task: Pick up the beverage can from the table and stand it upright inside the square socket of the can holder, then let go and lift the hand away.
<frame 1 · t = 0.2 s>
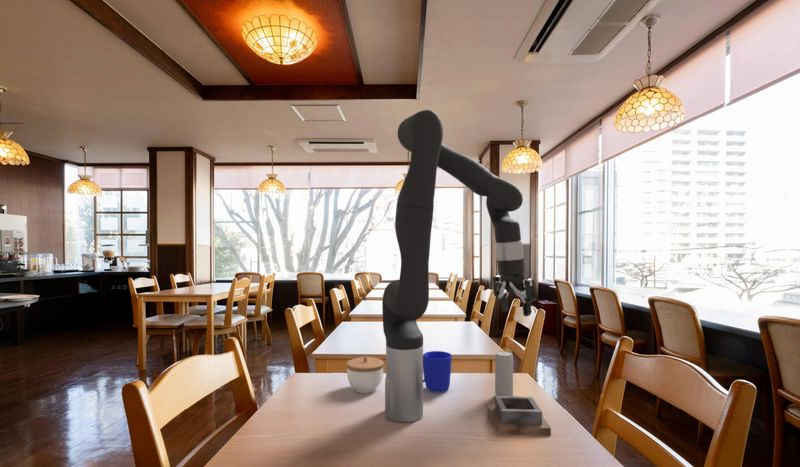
hand: (516, 313, 120), 22 cm above the table, tool pointing down, fingers open, 8 cm apart
lidded jar: (365, 389, 122), on the table
can holder: (517, 422, 100), on the table
beverage can: (504, 397, 116), on the table
mug: (430, 389, 122), on the table
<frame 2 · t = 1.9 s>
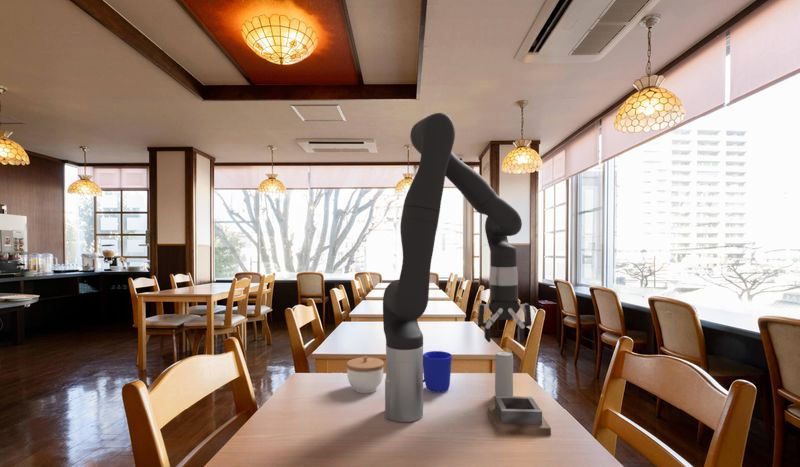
hand: (504, 341, 116), 15 cm above the table, tool pointing down, fingers open, 8 cm apart
nothing on the table moved.
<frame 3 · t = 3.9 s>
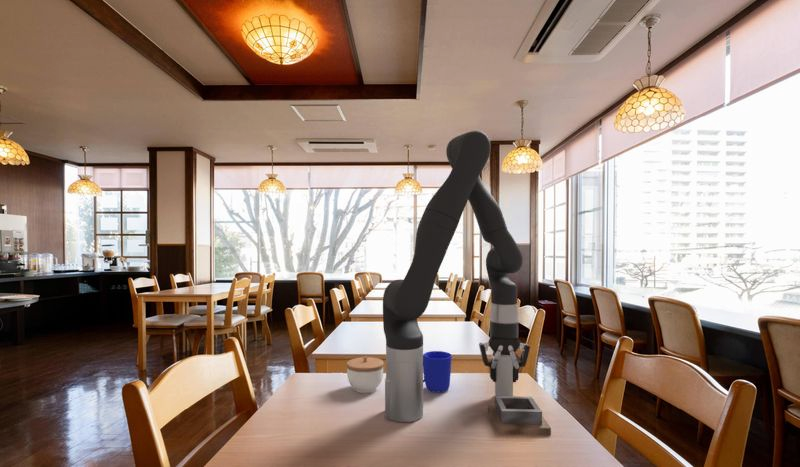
hand: (504, 380, 116), 4 cm above the table, tool pointing down, fingers closed on beverage can, 5 cm apart
beverage can: (504, 397, 116), on the table, touching gripper
everything else where it was.
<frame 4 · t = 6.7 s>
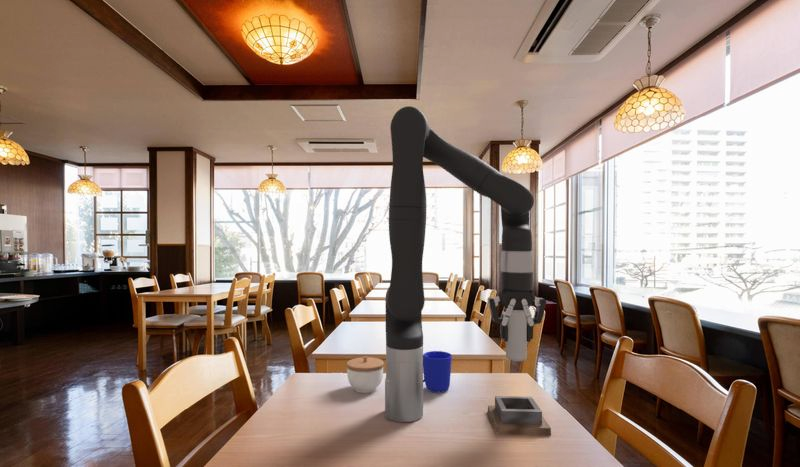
hand: (516, 340, 101), 19 cm above the table, tool pointing down, fingers closed on beverage can, 5 cm apart
beverage can: (516, 359, 101), point 15 cm above the table, touching gripper
everything else where it was.
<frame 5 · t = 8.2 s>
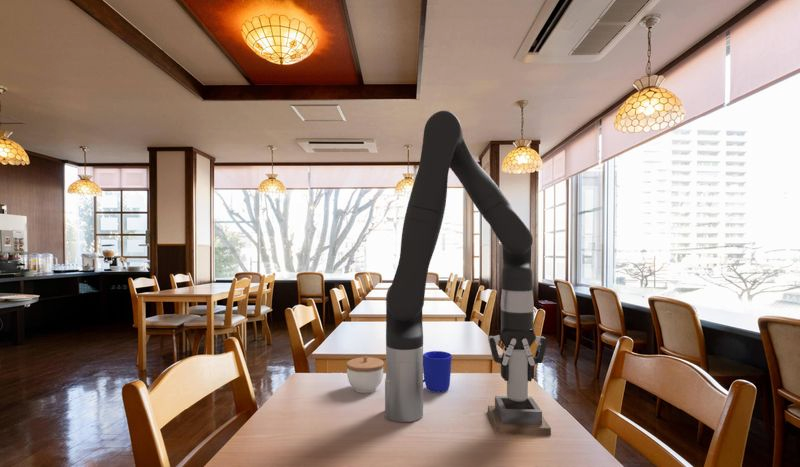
hand: (517, 379, 100), 10 cm above the table, tool pointing down, fingers closed on beverage can, 5 cm apart
beverage can: (517, 399, 100), point 6 cm above the table, touching gripper
everything else where it was.
when the fingers open (7 cm above the table, at t = 9.6 s): beverage can stays where it is, resting on can holder.
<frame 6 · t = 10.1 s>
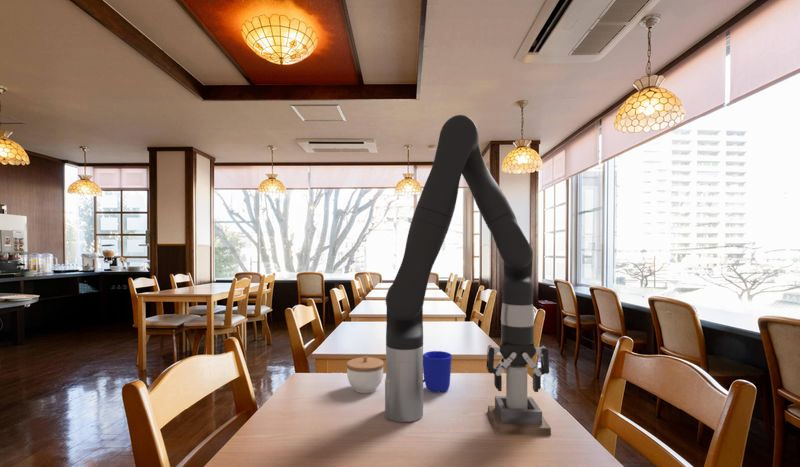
hand: (517, 390, 100), 8 cm above the table, tool pointing down, fingers open, 8 cm apart
beverage can: (516, 416, 100), point 1 cm above the table, touching can holder
everything else where it was.
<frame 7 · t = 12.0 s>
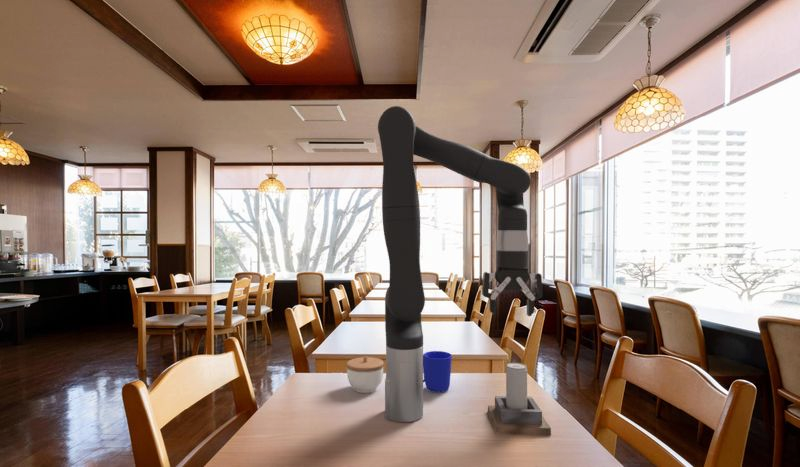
hand: (511, 315, 104), 25 cm above the table, tool pointing down, fingers open, 8 cm apart
nothing on the table moved.
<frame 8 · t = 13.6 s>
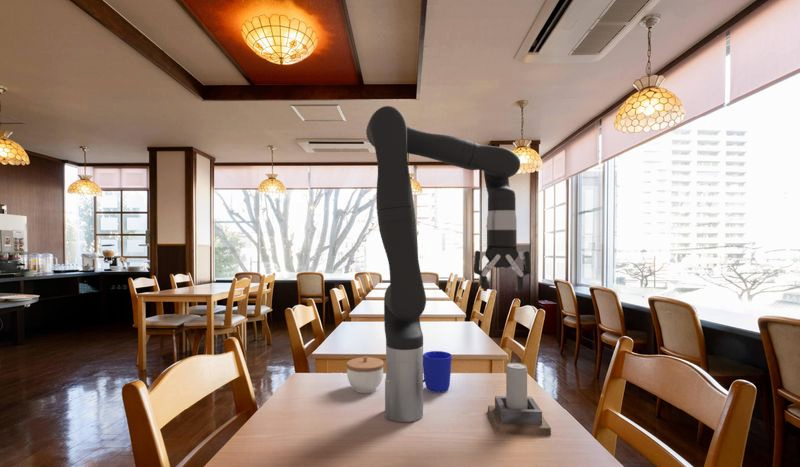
hand: (501, 290, 109), 30 cm above the table, tool pointing down, fingers open, 8 cm apart
nothing on the table moved.
at the end: beverage can 0.2 cm off-centre on the can holder, point 1.3 cm above the can holder's base; beverage can tilted 0°; the gripper is holding nothing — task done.
